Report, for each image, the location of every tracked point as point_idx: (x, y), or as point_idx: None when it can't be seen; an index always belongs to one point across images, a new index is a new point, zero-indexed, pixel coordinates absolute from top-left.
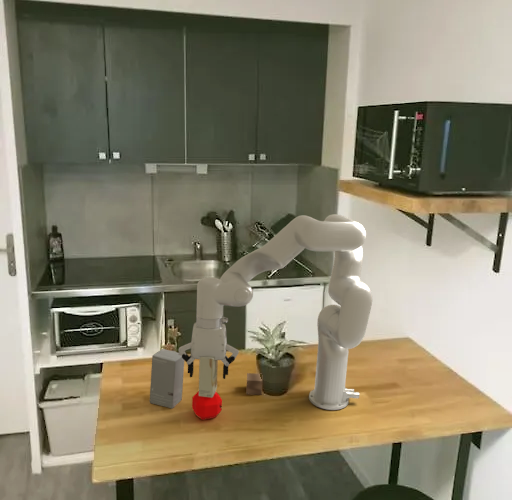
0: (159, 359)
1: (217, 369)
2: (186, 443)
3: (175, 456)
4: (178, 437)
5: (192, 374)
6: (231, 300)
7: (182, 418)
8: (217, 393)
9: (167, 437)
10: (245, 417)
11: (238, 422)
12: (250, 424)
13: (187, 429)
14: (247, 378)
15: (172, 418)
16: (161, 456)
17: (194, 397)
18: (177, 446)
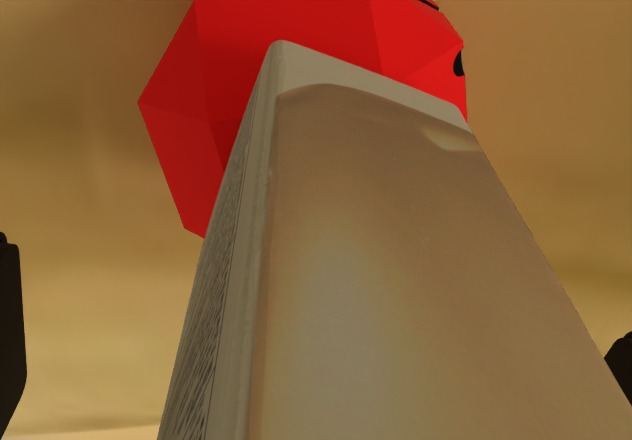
0: None
1: (560, 290)
2: (153, 352)
3: (102, 428)
4: (96, 301)
5: (12, 374)
6: None
7: (95, 91)
8: (450, 82)
9: (23, 295)
10: (619, 138)
11: (536, 194)
12: (610, 226)
13: (150, 232)
14: None
15: (6, 81)
16: (28, 422)
17: (161, 136)
18: (102, 368)
